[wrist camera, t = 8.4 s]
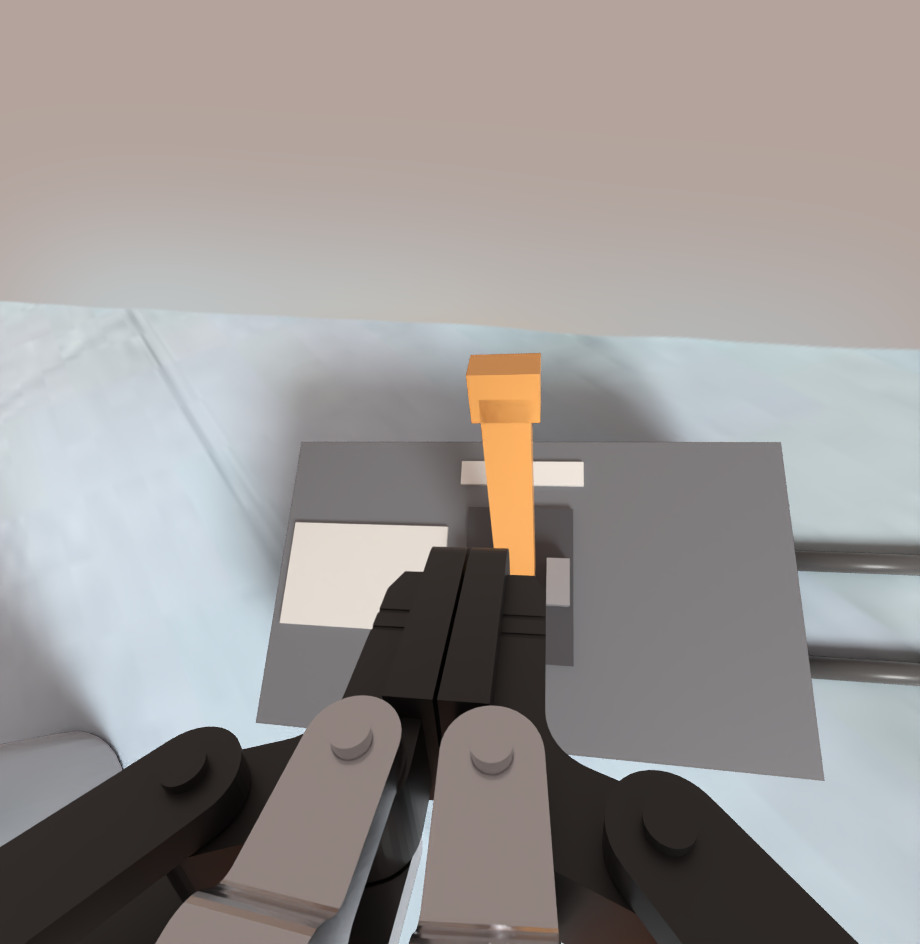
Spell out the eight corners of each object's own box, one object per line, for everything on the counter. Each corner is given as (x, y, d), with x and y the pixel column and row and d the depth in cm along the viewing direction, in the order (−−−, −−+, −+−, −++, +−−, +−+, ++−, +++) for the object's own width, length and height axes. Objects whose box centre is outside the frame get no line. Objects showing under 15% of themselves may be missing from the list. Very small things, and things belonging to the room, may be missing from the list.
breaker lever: (492, 597, 24) (465, 375, 16) (494, 576, 24) (470, 355, 17) (541, 600, 23) (539, 374, 15) (542, 578, 24) (540, 352, 16)
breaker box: (337, 699, 34) (239, 727, 23) (363, 491, 38) (289, 432, 27) (1049, 764, 27) (1378, 846, 16) (985, 502, 31) (1213, 429, 20)
